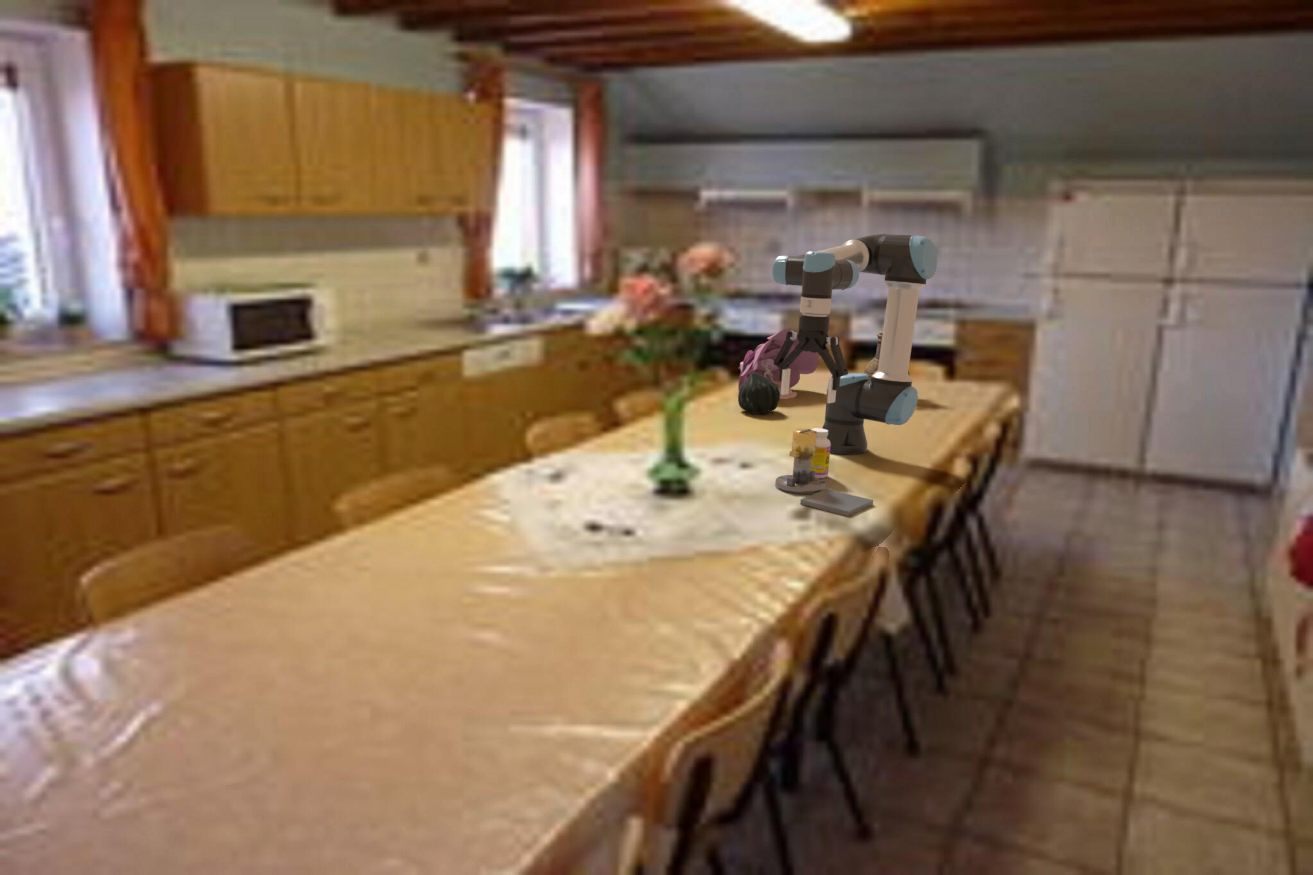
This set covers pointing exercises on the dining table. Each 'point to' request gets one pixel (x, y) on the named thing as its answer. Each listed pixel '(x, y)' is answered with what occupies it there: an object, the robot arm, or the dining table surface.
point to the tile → (836, 502)
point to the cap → (803, 443)
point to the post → (801, 479)
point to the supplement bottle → (821, 454)
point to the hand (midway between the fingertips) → (807, 398)
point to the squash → (758, 394)
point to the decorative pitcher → (875, 360)
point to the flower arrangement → (764, 365)
